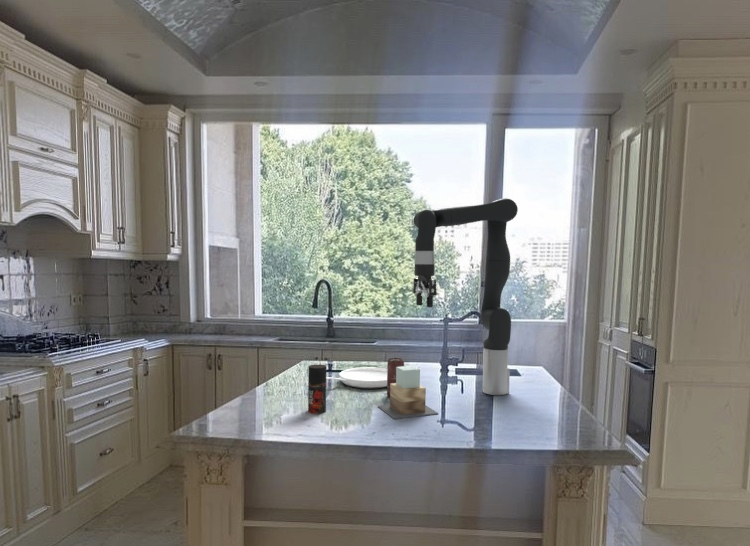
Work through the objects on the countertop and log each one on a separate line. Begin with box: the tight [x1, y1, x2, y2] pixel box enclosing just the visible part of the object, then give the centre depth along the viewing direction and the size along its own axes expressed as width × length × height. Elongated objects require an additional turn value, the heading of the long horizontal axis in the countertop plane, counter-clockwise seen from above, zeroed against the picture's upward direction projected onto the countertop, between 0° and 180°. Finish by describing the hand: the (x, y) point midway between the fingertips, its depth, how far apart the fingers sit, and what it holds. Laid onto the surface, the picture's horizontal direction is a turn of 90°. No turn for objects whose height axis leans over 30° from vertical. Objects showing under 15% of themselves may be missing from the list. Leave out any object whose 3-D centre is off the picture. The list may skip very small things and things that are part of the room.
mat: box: [377, 404, 439, 420], centre depth 161 cm, size 16×14×1 cm
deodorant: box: [307, 364, 327, 415], centre depth 159 cm, size 6×6×15 cm
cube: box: [396, 365, 421, 389], centre depth 161 cm, size 6×6×6 cm
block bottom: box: [389, 395, 427, 415], centre depth 161 cm, size 9×9×4 cm
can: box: [386, 357, 405, 399], centre depth 178 cm, size 6×6×14 cm
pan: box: [326, 366, 387, 390], centre depth 195 cm, size 25×38×5 cm, turn 124°
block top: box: [390, 383, 427, 402], centre depth 161 cm, size 9×9×4 cm
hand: (424, 306), depth 180 cm, fingers open, 8 cm apart
